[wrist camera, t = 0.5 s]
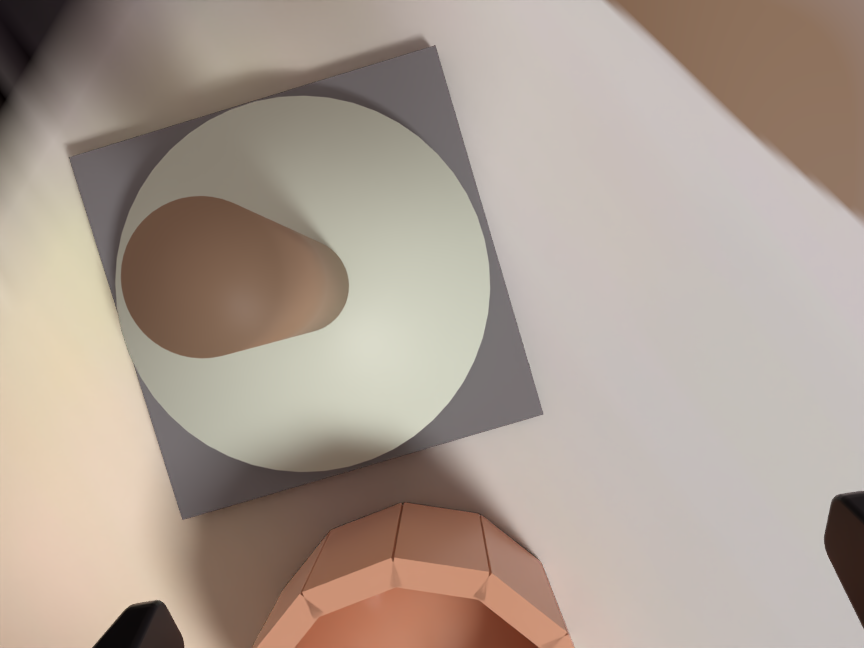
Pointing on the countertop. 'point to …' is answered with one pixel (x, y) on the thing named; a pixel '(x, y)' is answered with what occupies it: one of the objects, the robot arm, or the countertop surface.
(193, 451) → the mat
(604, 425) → the countertop surface
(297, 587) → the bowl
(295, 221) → the lid
